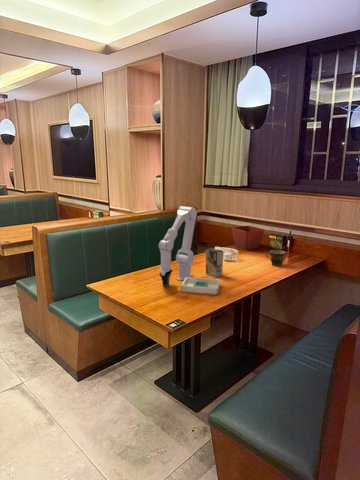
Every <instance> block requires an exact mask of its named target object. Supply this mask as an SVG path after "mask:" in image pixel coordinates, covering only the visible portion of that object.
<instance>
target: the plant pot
mask: <svg viewBox="0 0 360 480" xmlns="http://www.w3.org/2000/svg"><path fill="white" fill-rule="evenodd" d="M231 231H232V237H233V242H234V245H235V247H236V248H238V249H241V250H244V251H251V250H257V249H258V248H259V247H260V245H261V241H262V239H263V236H264V233H265V228H262V227H256V226H252V225H240V226H232V227H231Z"/></svg>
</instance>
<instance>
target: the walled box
mask: <svg viewBox="0 0 360 480" xmlns="http://www.w3.org/2000/svg"><path fill="white" fill-rule="evenodd" d="M220 282H221V280H220V278H219V279H217V278H208V277H207V278H205V277H204V278H203V277H193V276H192V277H185V279H184V280H182V282H181V285H180V293H188V294H189V293H190V294H200V295H201V294H202V295H212V296H217V295H218V294H219V289H220V284H221V283H220Z"/></svg>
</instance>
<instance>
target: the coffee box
mask: <svg viewBox="0 0 360 480" xmlns="http://www.w3.org/2000/svg"><path fill="white" fill-rule="evenodd" d="M223 256H224V252H223V251H222V250H218V249H215V248H213V247H211V248H208V249H206V250H205V274H206V275H209V276H212V277H215V278H218V277H221V276H222V275H223V266H224V265H223V261H224V259H223V258H224V257H223Z"/></svg>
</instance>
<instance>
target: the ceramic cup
mask: <svg viewBox="0 0 360 480" xmlns="http://www.w3.org/2000/svg"><path fill="white" fill-rule="evenodd" d="M267 254H268V255H269V256H270V257H269V256H268V255H267ZM285 255H286V251H284V250H280V249H272V250H270V251H269V252H268V251H267V252H266V253H265V256H266V257H267V258H268V259H269V260H270V263H271V266H273V267H275V268H276V267H279V268H280V267H282V266H283V265H284V264H283V263H284V260H285Z"/></svg>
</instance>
